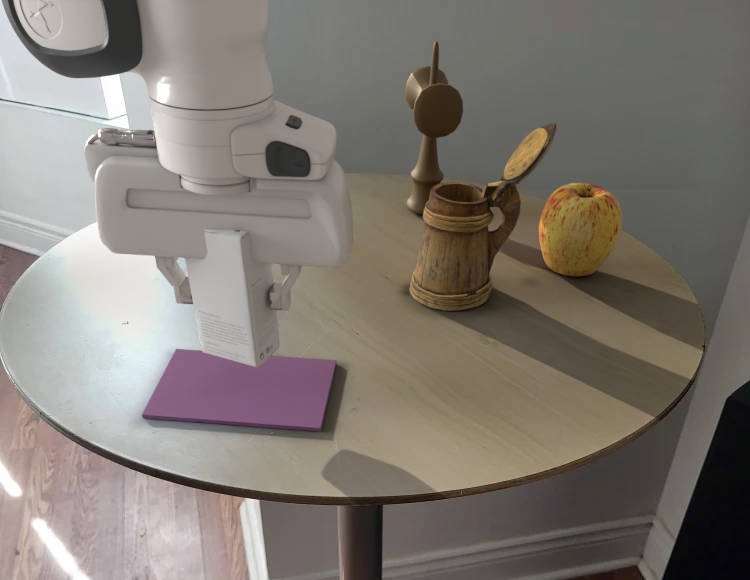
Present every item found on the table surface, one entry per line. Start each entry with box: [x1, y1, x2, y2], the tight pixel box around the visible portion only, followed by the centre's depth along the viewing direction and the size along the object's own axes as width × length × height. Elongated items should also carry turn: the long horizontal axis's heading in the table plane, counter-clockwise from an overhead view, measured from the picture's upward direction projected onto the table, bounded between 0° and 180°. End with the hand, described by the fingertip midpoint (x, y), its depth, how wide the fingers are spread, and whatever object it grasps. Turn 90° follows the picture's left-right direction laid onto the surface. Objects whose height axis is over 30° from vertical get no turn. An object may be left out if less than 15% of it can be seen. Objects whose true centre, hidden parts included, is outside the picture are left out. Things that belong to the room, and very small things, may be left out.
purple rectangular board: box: [141, 348, 338, 432], centre depth 72 cm, size 16×11×1 cm
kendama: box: [404, 41, 464, 216], centre depth 97 cm, size 6×10×20 cm, turn 6°
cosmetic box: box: [184, 229, 281, 367], centre depth 66 cm, size 6×4×12 cm
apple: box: [538, 182, 623, 277], centre depth 89 cm, size 9×9×10 cm
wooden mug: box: [409, 122, 558, 312], centre depth 81 cm, size 9×14×18 cm, turn 93°
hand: (234, 304), depth 67 cm, fingers closed on cosmetic box, 7 cm apart
